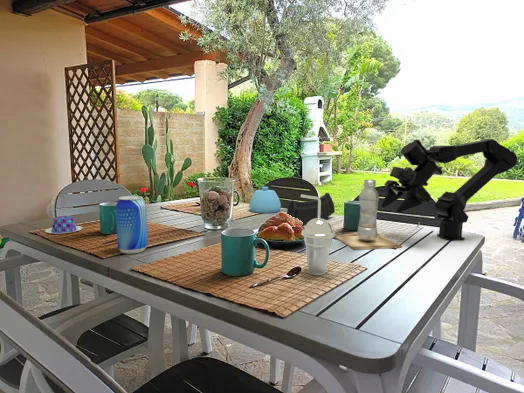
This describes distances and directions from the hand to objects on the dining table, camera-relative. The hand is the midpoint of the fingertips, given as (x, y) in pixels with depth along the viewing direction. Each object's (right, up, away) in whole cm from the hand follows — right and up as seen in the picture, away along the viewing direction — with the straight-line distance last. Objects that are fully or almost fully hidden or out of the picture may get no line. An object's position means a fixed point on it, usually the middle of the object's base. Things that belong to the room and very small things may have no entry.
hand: (389, 209), depth 125 cm
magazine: (-22, -7, +30) cm, 38 cm away
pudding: (-114, -9, +12) cm, 115 cm away
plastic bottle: (-7, -11, 0) cm, 13 cm away
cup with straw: (-28, -15, -29) cm, 43 cm away
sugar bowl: (-41, -3, +55) cm, 69 cm away
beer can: (-81, -12, -12) cm, 82 cm away
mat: (-8, -11, 0) cm, 13 cm away
